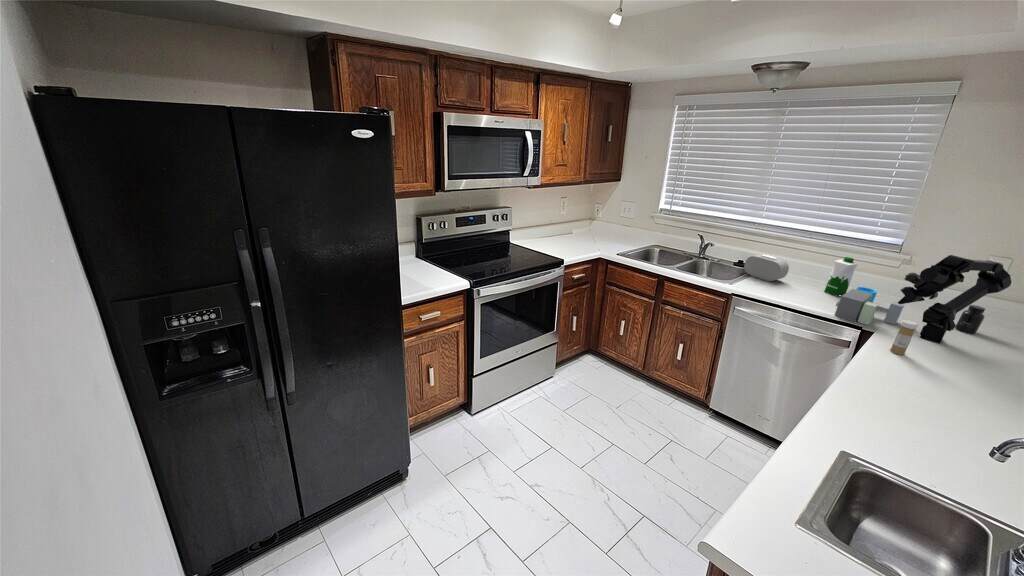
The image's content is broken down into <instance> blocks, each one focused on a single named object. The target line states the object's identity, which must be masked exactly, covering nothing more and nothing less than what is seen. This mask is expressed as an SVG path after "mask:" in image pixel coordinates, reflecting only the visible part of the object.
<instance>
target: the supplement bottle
mask: <svg viewBox="0 0 1024 576" xmlns="http://www.w3.org/2000/svg"><path fill="white" fill-rule="evenodd" d="M985 310H986V308H984V307H982V306H979V305H975V304H970V305H969V306H968V307H967V309H966V310H962V313H961V315H960V316H959V318H958V321H957V322H956V324H955V325H956V326H955V328H954V329H956V330H957V331H958V332H961V333H964V332H965V333H966V334H968V333H969V335H975V334H976V333H977V332H978V330H979V329H980V327H981V324H982V323H983V321H984V319H985V314H984V313H985Z"/></svg>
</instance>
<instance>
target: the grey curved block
mask: <svg viewBox="0 0 1024 576" xmlns="http://www.w3.org/2000/svg"><path fill="white" fill-rule="evenodd" d="M856 289H857V288H856ZM856 289H855V288H852V289H850V290H849V291H848V290H847V292H846V293H845V294H844V295H842V296H840V299H839V300H838V301H839V304H838V307H837V306H836V310H835V312H834V316H835V317H839V318H840V319H845V320H847V321H851V322H854V323H855V322H856V321H858V318H859V316H860V314H861V313H859V311H860V308H863V306H864V304H865V303H866V302H870V300H871V298H872V295H873V294H871V293H867V292H863V291H860V290H856Z"/></svg>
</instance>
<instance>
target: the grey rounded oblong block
mask: <svg viewBox="0 0 1024 576" xmlns="http://www.w3.org/2000/svg"><path fill="white" fill-rule="evenodd" d="M743 268H744V271H745V273H747V274H748V275H749V276H750V277H754V278H757V279H760V280H763V281H766V282H773V281H777V280H781V279H784V278H785V277H786V276H787V275H788V273H789V269H790V268H789V263H788V262H787V261H785V260H784V259H781V258H777V257H775V256H771V255H768V254H755V255H752V256H748V257H747V258H746V260H745V262H744V267H743Z"/></svg>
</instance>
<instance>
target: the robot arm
mask: <svg viewBox="0 0 1024 576" xmlns="http://www.w3.org/2000/svg"><path fill="white" fill-rule="evenodd" d="M971 271H977V272H978V273H977V277H978V278H977V279H976V283H975V285H973V286H972V287H970V288H968V289H966V290H965V291H964V292H962V293H960V294H959V295H956V296H955V297H954V298H952V299H951V300H949V301H948V302H946V303H940V302H934V304H932V305H931V306H928V308H926V309H925V310H924V311H923V313H922V323H925V324H924V325H923V326H922V329H921V331H920V333H919V335H920V336H919V338H921V339H924V340H927V341H930V342H934V343H937V344H941V343H942V341H943V339H944V337H945V334H946V332H951V331H954V329H956V328H955V326H956V324H955V319H956V316H957V314H958V313H959V312H961V311H963V310H964V309H966V308H968V307H969V306H970V305H973V303H975V302H976V301H978V300H980V299H981V298H983V297H984V296H986V295H989V294H994V293H995V294H996V293H1000V292H1002V291H1004V290H1006V289H1007V288H1009V287H1011V286H1012V285H1011V284H1012V278H1011V275H1010V273H1008V272H1007V270H1006V269H1005V268H1004V265H1003V264H1002V263H1001V262H996V261H993V260H982V259H981V260H980V259H978V260H977V259H969V258H964V257H962V256H957V255H955V254H954V255H953V254H949V255H947V256H946V257H944V258H943V259H941V260H940V261H939V262H937V263H936V264H932V265H931V266H930V267H927V268H924V269H923V270H922V271H921V272H920V274H918V273H916V272H909V273H908V274H906V275H905V276H904V280H905V281H907V282H909V283H911V284H912V285H913V286H904V287H902V288H900V292H901V293H902V294H903V295H904V296H903V297H901V298H900V300H899V301H897V302H898V304H910V303H919V302H923V301H925V298H928V299H929V300H934V299H936V298H938V297H939V293H940V292H943V291H944V290H945V289H948V288H950V287H952V286H953V285H956V284H957V283H964V279H965V276H964V275H963V274H964V273H969V272H971Z"/></svg>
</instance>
